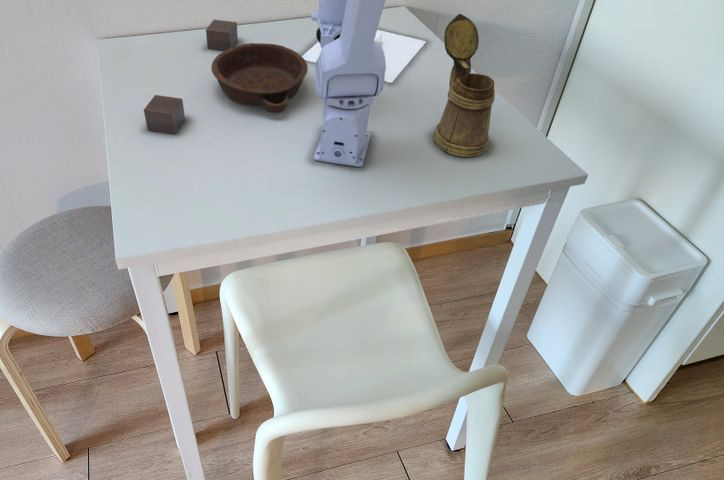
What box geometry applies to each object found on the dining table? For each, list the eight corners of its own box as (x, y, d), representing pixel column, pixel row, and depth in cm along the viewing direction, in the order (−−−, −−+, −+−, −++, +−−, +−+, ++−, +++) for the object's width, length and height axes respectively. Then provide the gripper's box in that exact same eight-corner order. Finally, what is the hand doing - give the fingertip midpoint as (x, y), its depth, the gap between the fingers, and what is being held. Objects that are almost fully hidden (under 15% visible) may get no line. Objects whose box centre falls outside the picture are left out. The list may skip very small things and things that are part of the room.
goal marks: (174, 134, 100) (171, 113, 97) (147, 130, 101) (143, 109, 98) (238, 41, 124) (236, 22, 121) (215, 38, 125) (213, 19, 122)
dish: (229, 128, 102) (227, 102, 98) (202, 68, 116) (199, 44, 112) (324, 112, 106) (325, 86, 102) (286, 56, 120) (286, 32, 116)
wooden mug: (460, 110, 107) (484, 9, 93) (497, 153, 98) (530, 48, 85) (414, 117, 105) (433, 15, 92) (448, 161, 96) (474, 55, 83)
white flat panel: (384, 41, 125) (387, 21, 122) (370, 56, 120) (372, 36, 117) (347, 31, 127) (348, 12, 124) (331, 46, 123) (332, 27, 120)
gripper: (322, -31, 100) (318, 47, 110) (302, 4, 90) (301, 85, 100) (363, -27, 99) (356, 52, 109) (348, 9, 89) (341, 91, 99)
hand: (332, 68), depth 104 cm, fingers closed
